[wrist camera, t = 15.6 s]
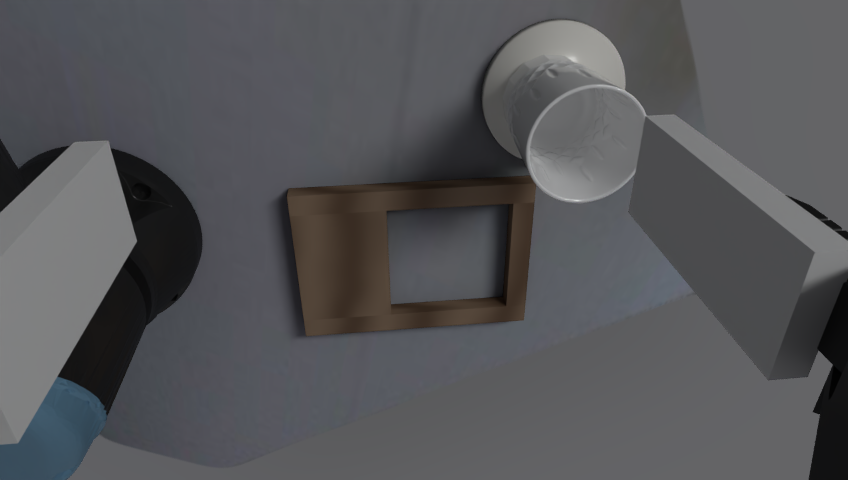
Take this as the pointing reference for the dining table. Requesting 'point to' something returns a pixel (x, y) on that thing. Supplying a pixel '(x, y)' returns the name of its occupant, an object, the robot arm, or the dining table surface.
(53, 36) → the dining table surface
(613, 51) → the coaster
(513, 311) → the board
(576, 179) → the white cup
